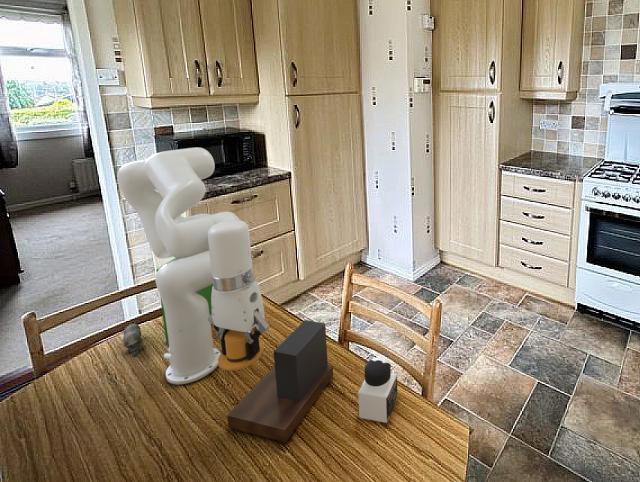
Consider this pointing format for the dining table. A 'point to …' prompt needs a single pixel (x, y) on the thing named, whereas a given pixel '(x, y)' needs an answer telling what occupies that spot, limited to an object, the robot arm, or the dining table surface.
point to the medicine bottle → (378, 391)
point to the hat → (237, 352)
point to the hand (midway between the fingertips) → (241, 352)
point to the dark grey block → (300, 360)
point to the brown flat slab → (274, 408)
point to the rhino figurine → (132, 339)
